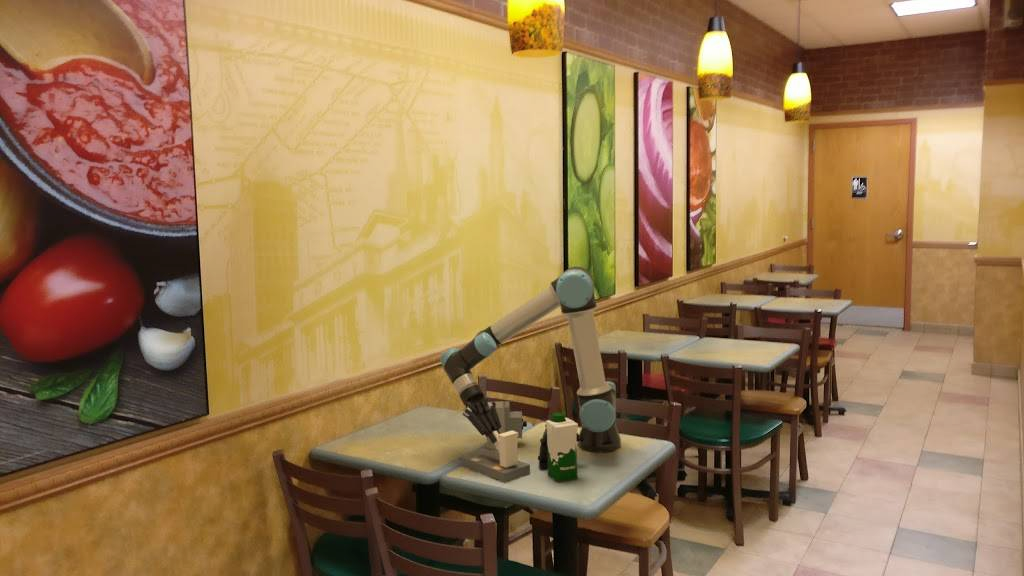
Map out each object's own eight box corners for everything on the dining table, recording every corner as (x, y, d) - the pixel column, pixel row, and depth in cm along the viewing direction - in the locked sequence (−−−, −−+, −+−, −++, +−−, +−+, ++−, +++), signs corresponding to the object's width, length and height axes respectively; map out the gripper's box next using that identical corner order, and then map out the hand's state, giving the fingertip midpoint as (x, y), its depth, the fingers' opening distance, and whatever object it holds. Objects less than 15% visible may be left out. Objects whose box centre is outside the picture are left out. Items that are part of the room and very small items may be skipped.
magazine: (528, 462, 263) (547, 420, 263) (564, 476, 266) (583, 435, 265) (530, 466, 260) (549, 424, 259) (567, 480, 262) (585, 438, 261)
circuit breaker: (527, 448, 282) (526, 407, 280) (486, 449, 282) (485, 407, 280) (527, 441, 289) (526, 401, 287) (487, 442, 290) (486, 401, 288)
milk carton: (568, 470, 260) (567, 410, 257) (581, 479, 251) (581, 417, 249) (544, 474, 256) (542, 414, 254) (556, 484, 248) (555, 421, 245)
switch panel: (460, 465, 267) (460, 456, 266) (486, 457, 274) (486, 448, 273) (504, 482, 250) (504, 473, 250) (530, 473, 257) (529, 464, 257)
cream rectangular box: (498, 465, 256) (497, 434, 254) (512, 461, 259) (512, 430, 258) (504, 468, 253) (504, 436, 252) (519, 463, 257) (518, 432, 256)
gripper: (479, 392, 275) (512, 451, 265) (448, 400, 266) (482, 460, 256) (488, 380, 270) (523, 439, 260) (458, 387, 261) (492, 448, 251)
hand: (502, 450), depth 258 cm, fingers closed
